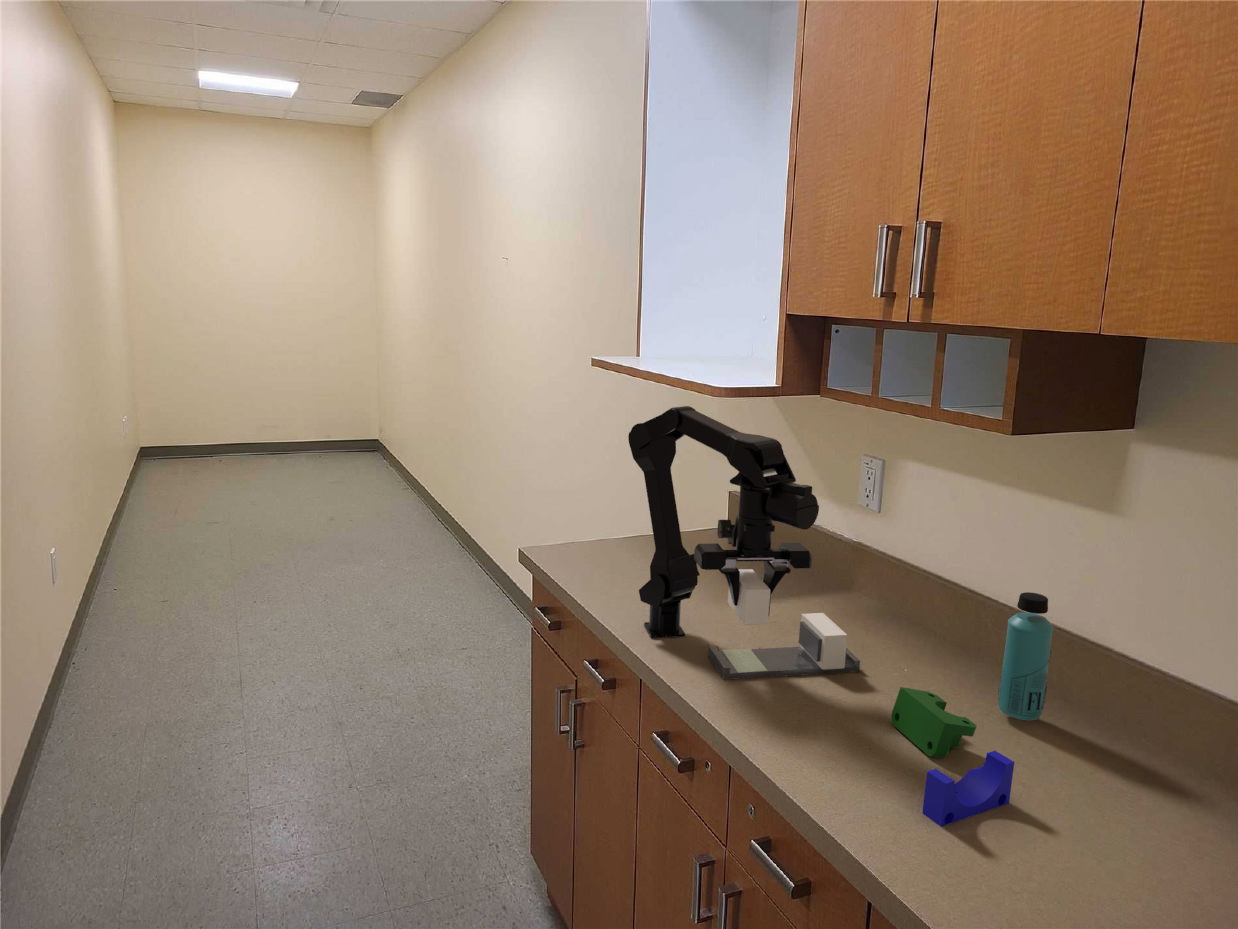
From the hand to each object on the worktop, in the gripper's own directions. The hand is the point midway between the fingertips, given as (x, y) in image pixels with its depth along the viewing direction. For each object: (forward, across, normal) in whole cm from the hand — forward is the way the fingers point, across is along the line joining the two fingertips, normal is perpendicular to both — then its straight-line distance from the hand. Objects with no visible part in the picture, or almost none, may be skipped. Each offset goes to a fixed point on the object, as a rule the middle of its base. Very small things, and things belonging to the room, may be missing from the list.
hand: (749, 604), depth 148 cm
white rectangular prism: (+2, 0, 0) cm, 2 cm away
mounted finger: (+10, -14, -1) cm, 17 cm away
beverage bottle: (+11, -37, +22) cm, 44 cm away
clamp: (+11, -20, +26) cm, 35 cm away
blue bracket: (+11, -16, +42) cm, 46 cm away
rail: (+11, -7, -1) cm, 13 cm away
